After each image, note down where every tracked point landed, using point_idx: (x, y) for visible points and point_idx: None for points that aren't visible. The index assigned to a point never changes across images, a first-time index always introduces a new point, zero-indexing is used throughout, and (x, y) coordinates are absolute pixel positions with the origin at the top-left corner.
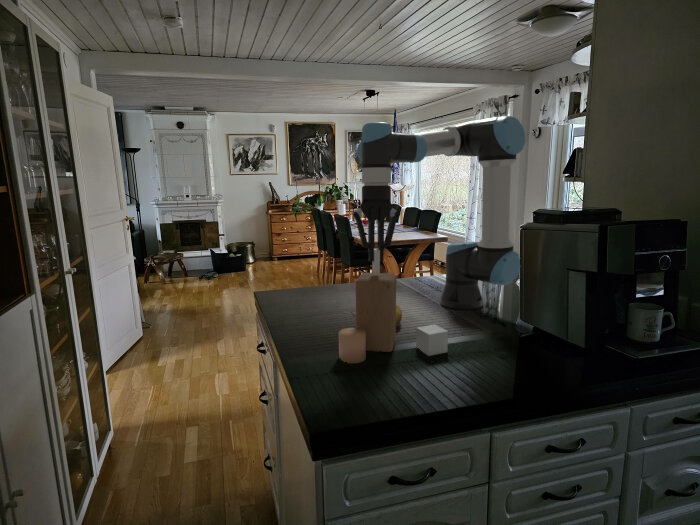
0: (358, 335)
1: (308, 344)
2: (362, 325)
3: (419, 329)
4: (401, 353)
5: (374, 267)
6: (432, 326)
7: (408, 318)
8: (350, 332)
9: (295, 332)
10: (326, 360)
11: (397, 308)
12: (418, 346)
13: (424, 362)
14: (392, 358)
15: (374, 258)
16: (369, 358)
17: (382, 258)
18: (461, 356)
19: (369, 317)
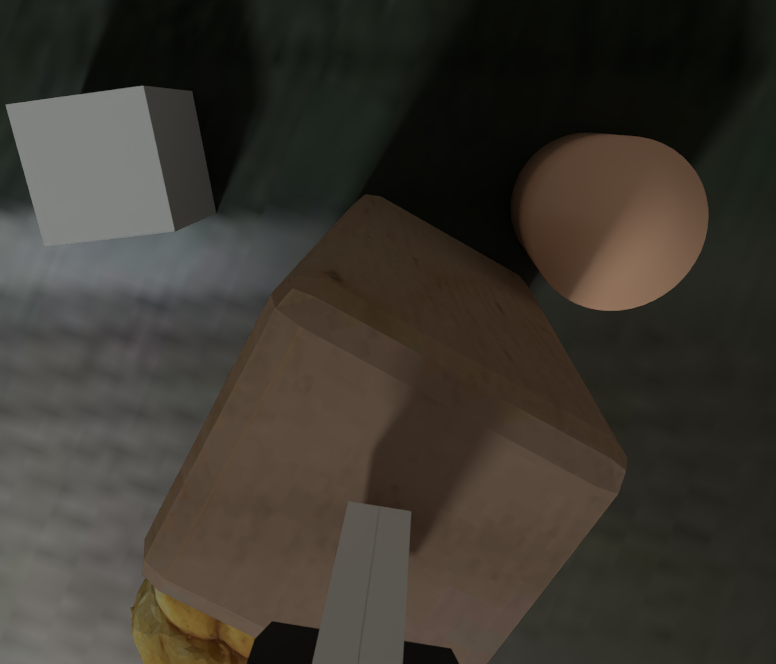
0: (604, 157)
1: (726, 445)
2: (518, 299)
3: (167, 196)
4: (316, 172)
5: (408, 558)
6: (70, 216)
7: (104, 599)
8: (628, 230)
9: (727, 613)
10: (721, 217)
11: (154, 610)
12: (206, 191)
13: (246, 15)
14: (387, 125)
15: (402, 649)
16: (501, 166)
17: (266, 650)
18: (26, 23)
19: (484, 289)
